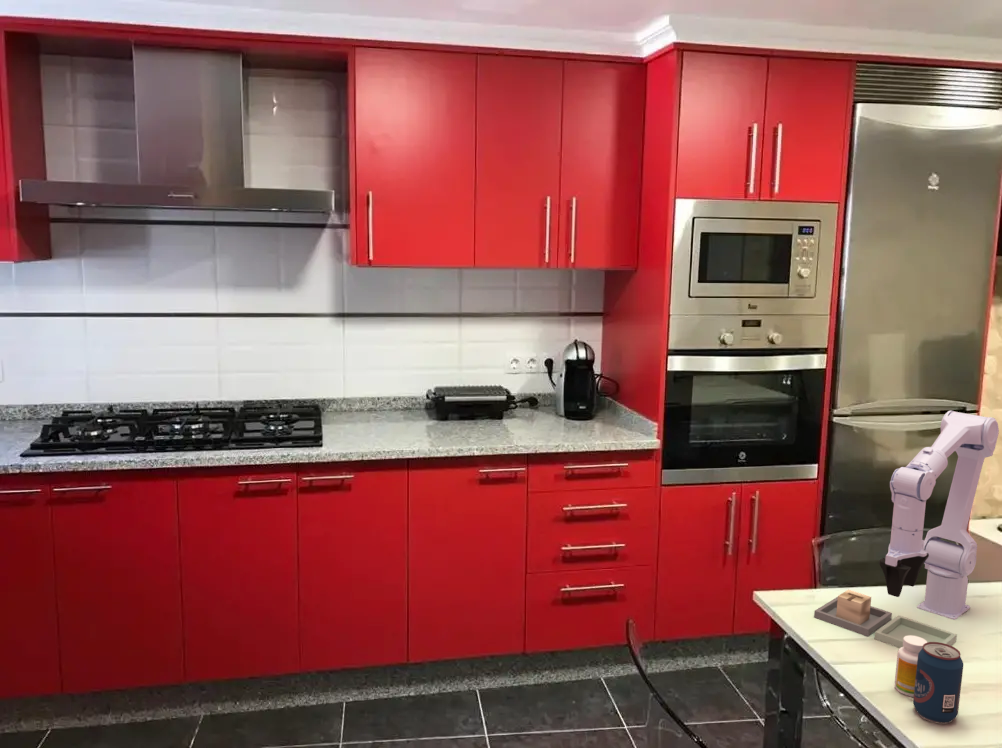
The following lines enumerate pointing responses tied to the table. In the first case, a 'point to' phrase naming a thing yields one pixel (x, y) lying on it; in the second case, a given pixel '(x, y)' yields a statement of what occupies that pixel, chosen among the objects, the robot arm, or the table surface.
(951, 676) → the soda can
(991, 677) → the table surface
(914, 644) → the supplement bottle
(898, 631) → the sage tray
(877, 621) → the charcoal tray
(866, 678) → the table surface
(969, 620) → the table surface
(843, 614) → the letter cube
